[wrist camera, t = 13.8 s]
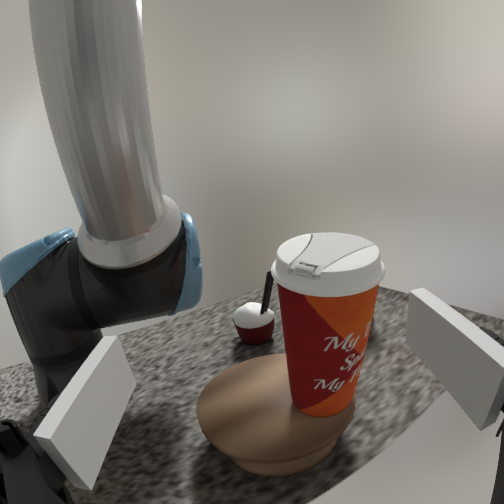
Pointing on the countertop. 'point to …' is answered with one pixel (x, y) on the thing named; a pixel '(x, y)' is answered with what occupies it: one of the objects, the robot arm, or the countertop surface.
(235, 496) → the countertop surface
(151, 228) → the robot arm
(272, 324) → the cocoa
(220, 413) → the pedestal stand
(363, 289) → the paper cup
